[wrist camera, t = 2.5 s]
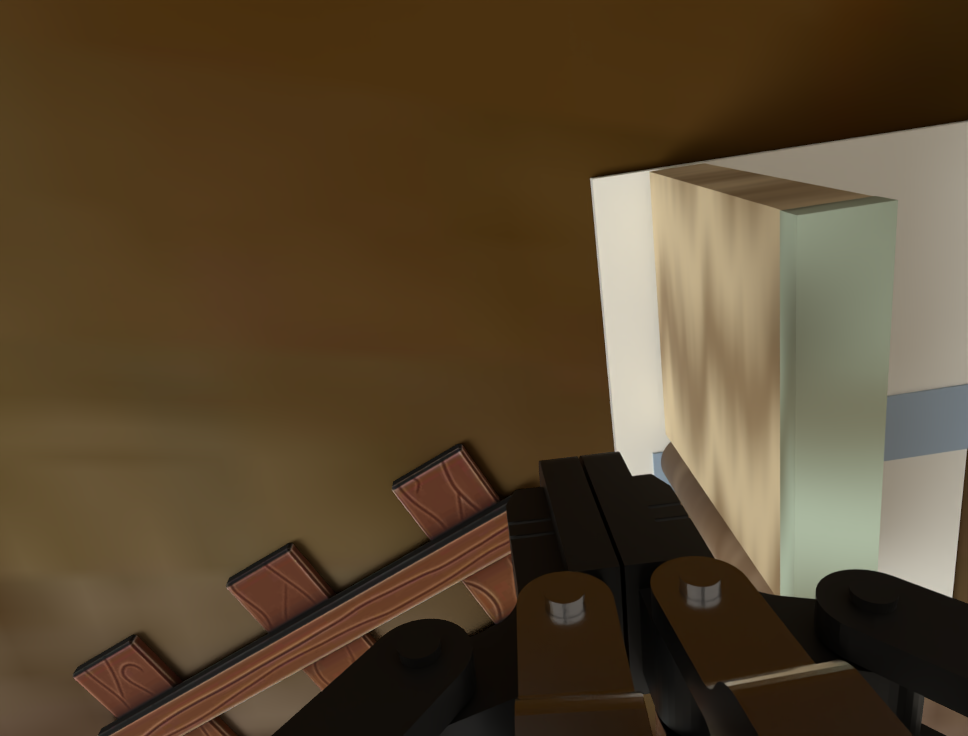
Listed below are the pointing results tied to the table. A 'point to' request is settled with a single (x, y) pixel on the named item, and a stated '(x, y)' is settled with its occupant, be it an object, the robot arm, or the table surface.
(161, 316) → the table surface
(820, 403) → the gate panel
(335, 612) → the decorative fence
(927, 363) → the card
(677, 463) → the fixed leg
